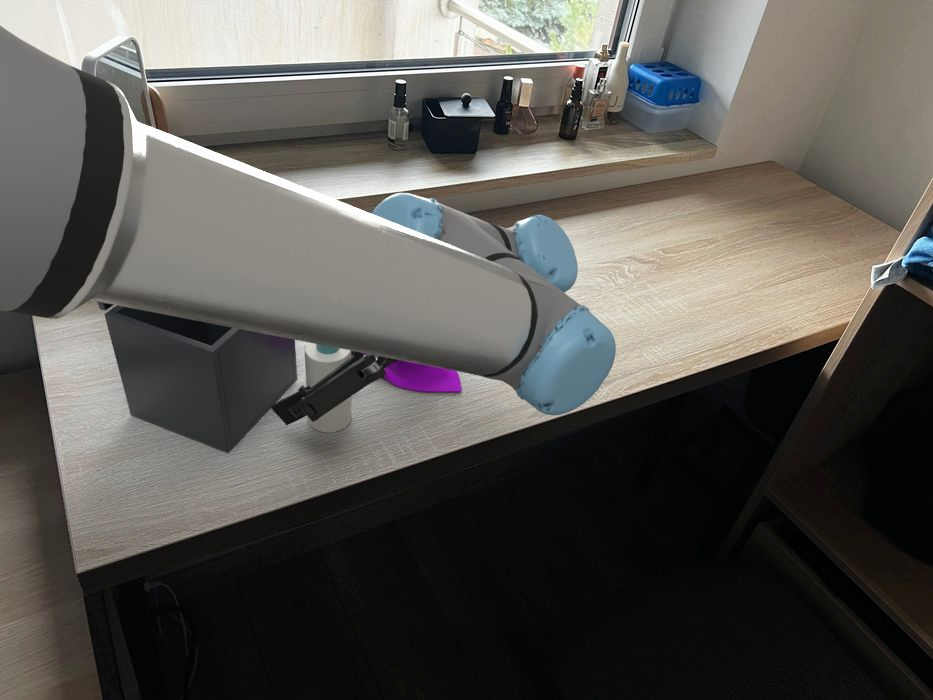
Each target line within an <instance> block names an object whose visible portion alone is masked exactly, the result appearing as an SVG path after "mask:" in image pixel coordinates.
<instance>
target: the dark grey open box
mask: <svg viewBox="0 0 933 700" xmlns="http://www.w3.org/2000/svg"><path fill="white" fill-rule="evenodd" d="M103 315H104V318H105V322H106V326H107V330H108V335H109V337H110V341H111V342H110V343H111V345H112V349H113V353H114V356H115V361H116V364H117V368H118V372H119V375H120V379H121V382H122V387H123V391H124V395H125V399H126V402H127V403H126V404H127V407H128V409H129V414H130V416H132V417H135V418H137V419H139V420H142V421H144V422H147V423H150V424H152V425H155V426H157V427H160V428H163V429H165V430H166V431H169V432H173V433H175V434H177V435H180V436H183V437H185V438H188V439H190V440H194V441H195V442H198V443H201V444H203V445H206V446H208V447H211V448H213V449H217V450H219V451H221V452H224V453H226V454H229V453H230V452H231V451H232V450H233V449H234V448H235V447H236V446H237V445H238V443H239V442H241V440H242V439H244V437H245V436H246V435H247V434H248V433H249V432H250V430H251V429H252V428H254V426H255V425H256V424H257V423H258V421H260V420H261V419H262V418H263V416H265V415H266V414H267V413H268V411H269V410H270V409H272V408H271V407H272V406H273V405H274V404H275V403H277V402H278V400H279V399H280V398H281V397H282V396H283V395H284V394H285V393H286V392H287V391H288V390H289V389H290V388H291V387H292V386H293V384H294V383H295V382H296V381H297V380H298V369H297V368H298V367H297V366H298V365H297V351H296V340H294V339H289V338H284V337H278V336H273V335H268V334H263V333H258V332H253V331H248V330H242V329H237V328H232V327H227V326H222V325H217V324H212V323H206V322H201V321H196V320H191V319H186V318H181V317H175V316H170V315H165V314H160V313H155V312H150V311H145V310H139V309H134V308H129V307H124V306H119V305H114V307H111V309H109V310H108V311H106V312H105V313H103Z"/></svg>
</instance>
